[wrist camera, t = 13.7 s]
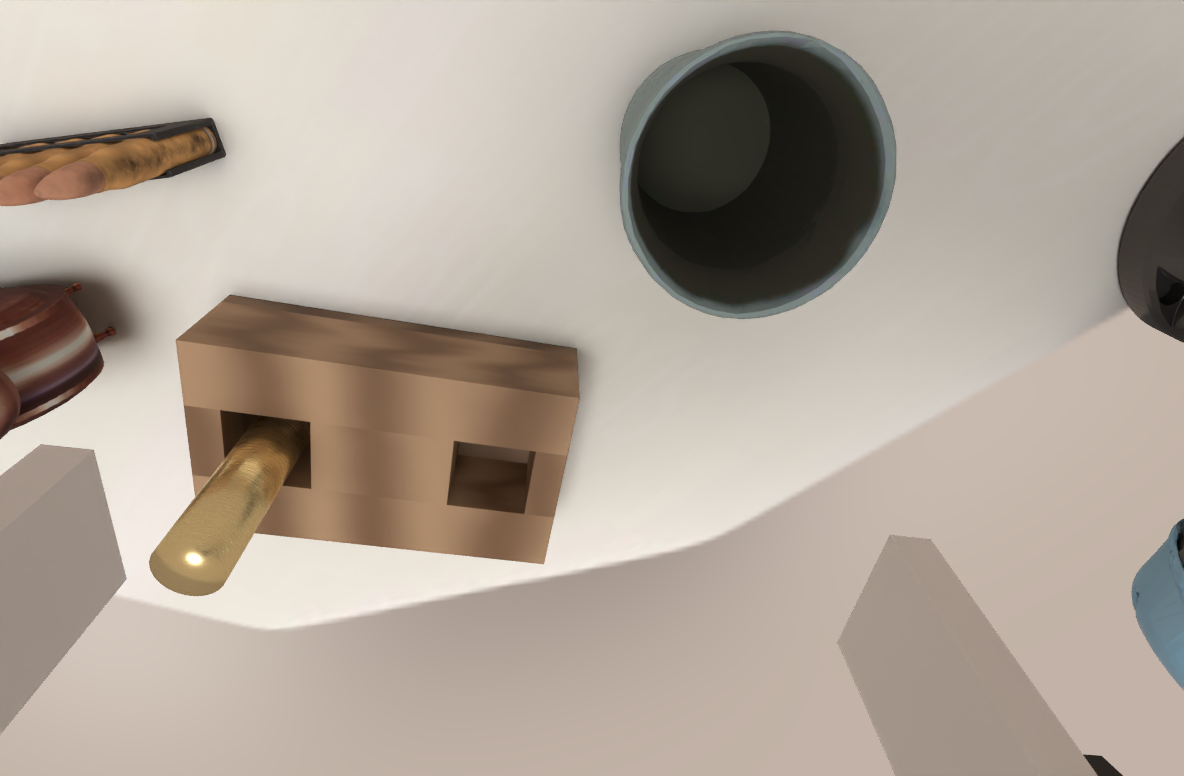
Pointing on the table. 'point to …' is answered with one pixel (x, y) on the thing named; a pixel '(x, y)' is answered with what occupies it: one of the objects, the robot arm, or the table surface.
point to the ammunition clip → (103, 160)
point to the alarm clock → (43, 352)
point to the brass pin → (229, 508)
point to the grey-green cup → (755, 172)
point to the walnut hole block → (388, 425)
